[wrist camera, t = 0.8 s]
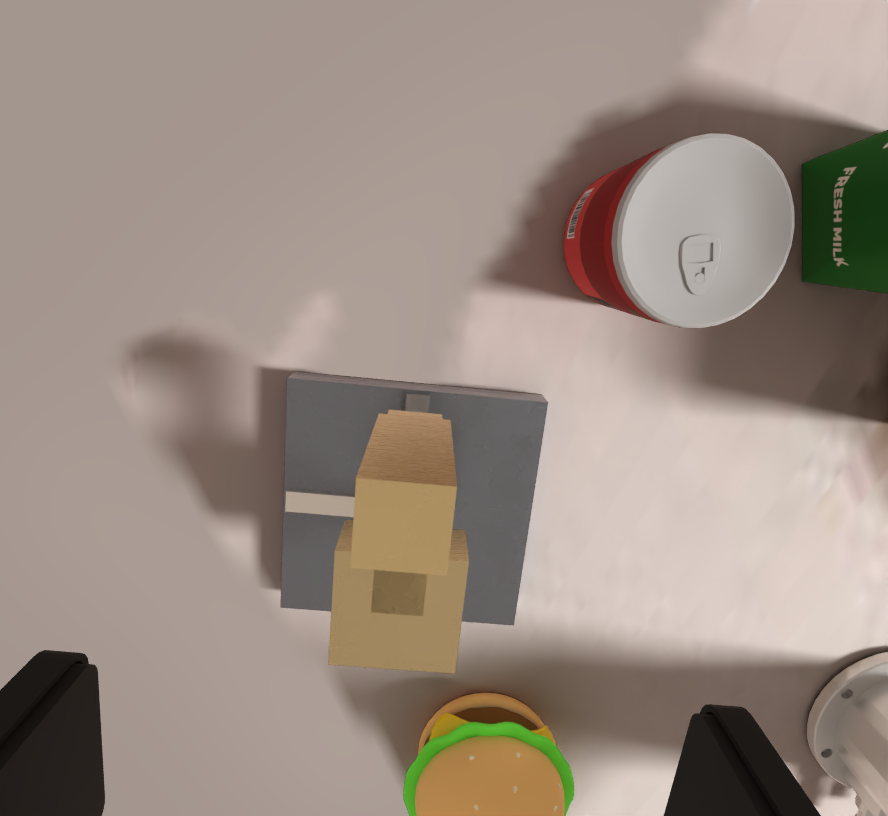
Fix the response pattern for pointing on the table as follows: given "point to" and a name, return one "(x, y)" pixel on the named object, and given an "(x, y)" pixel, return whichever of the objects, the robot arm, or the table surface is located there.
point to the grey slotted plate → (477, 473)
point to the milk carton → (847, 216)
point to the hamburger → (488, 762)
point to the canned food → (683, 232)
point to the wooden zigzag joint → (401, 552)
